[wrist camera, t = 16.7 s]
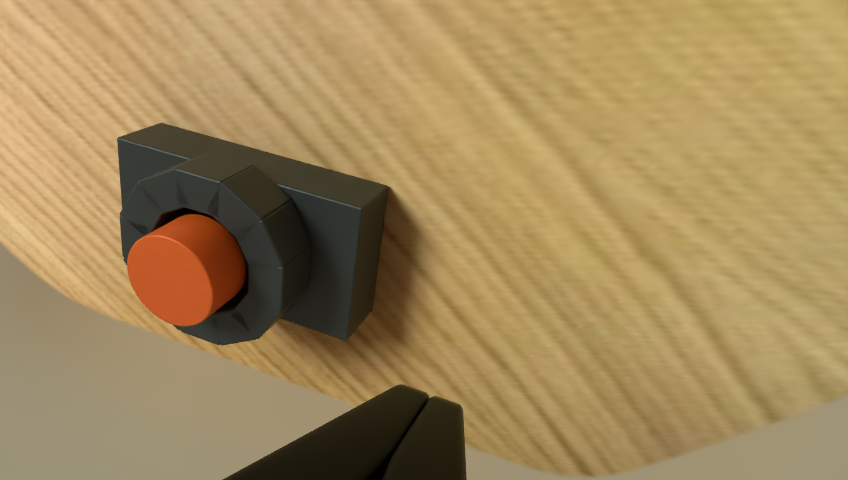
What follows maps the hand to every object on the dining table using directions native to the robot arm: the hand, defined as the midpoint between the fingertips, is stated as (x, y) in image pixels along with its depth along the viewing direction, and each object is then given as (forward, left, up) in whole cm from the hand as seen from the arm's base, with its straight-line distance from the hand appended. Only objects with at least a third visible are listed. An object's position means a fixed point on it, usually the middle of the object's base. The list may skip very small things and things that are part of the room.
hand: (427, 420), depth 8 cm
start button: (-3, +10, -9) cm, 14 cm away
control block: (-3, +10, -13) cm, 17 cm away
